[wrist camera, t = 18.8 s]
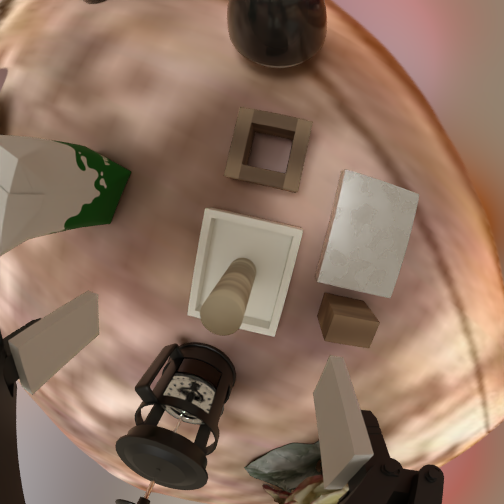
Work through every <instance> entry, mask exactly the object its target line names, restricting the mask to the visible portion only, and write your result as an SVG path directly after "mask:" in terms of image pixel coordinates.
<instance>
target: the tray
mask: <svg viewBox="0 0 504 504" xmlns="http://www.w3.org/2000/svg"><path fill="white" fill-rule="evenodd" d="M302 234H303V229H302V228H301V227H296V226H292V225H288V224H284V223H280V222H275V221H271V220H267V219H262V218H258V217H254V216H249V215H245V214H240V213H236V212H231V211H226V210H222V209H217V208H212V207H210V208H205V212H204V217H203V223H202V228H201V233H200V239H199V244H198V250H197V256H196V262H195V268H194V274H193V280H192V286H191V293H190V300H189V306H188V314H187V315H189V316H193V317H196V318H200V310H201V307H202V305H203V303H204V302H205V300H206V299H207V298H208V296H209V295H210V293H211V292H212V290H213V289H214V287H215V286H216V285H217V283H218V282H219V280H220V279H221V277H222V276H223V274H224V273H225V272H226V270H227V269H228V267H229V266H230V264H231V263H232V262H233V261H234V260H235V259H237V258H247V259H249V260H251V261H252V262H253V263H254V265H255V267H256V276H255V280H254V283H253V286H252V290H251V293H250V297H249V300H248V304H247V307H246V311H245V314H244V318H243V321H242V324H241V326H240V328H239V329H243V330H247V331H251V332H255V333H260V334H264V335H269V336H273V337H275V333H276V330H277V327H278V323H279V320H280V316H281V313H282V309H283V306H284V302H285V298H286V295H287V291H288V288H289V284H290V280H291V276H292V273H293V269H294V265H295V261H296V257H297V253H298V249H299V246H300V242H301V238H302ZM200 319H201V318H200Z"/></svg>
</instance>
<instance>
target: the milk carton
mask: <svg viewBox="0 0 504 504" xmlns="http://www.w3.org/2000/svg"><path fill="white" fill-rule="evenodd" d="M130 174H131V171H129V170H127V169H126V168H124V167H122V166H120V165H119V164H117V163H115V162H113V161H111V160H110V159H108V158H106V157H104V156H102V155H101V154H99V153H97V152H95V151H93V150H91V149H89V148H87V147H85V146H81V145H76V144H71V143H65V142H60V141H54V140H47V139H41V138H34V137H26V136H12V135H0V256H2V255H3V254H5V253H6V252H8V251H10V250H11V249H13V248H15V247H16V246H18V245H20V244H21V243H23V242H25V241H27V240H29V239H32V238H36V237H40V236H44V235H48V234H53V233H57V232H61V231H66V230H70V229H75V228H80V227H87V226H95V225H103V224H110V223H111V221H112V218H113V215H114V213H115V210H116V207H117V205H118V202H119V200H120V197H121V195H122V192H123V190H124V188H125V185H126V183H127V181H128V178H129V176H130Z"/></svg>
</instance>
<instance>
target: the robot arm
mask: <svg viewBox="0 0 504 504" xmlns="http://www.w3.org/2000/svg"><path fill="white" fill-rule="evenodd" d="M84 1H85V2H87V3H99V2H102V1H105V0H84ZM98 335H99V318H98V294H96V293H93V292H91V291H86V292H85V293H83V294H81V295H80V296H78V297H76V298H75V299H73V300H71V301H70V302H68V303H66V304H65V305H63V306H62V307H60V308H58V309H57V310H55V311H53V312H52V313H50V314H49V315H47V316H45V317H44V318H42V319H41V318H39V319H36V320H32V321H30V322H29V323H27V324H26V325H25V326H22V327H21V328H20V329H18V330H16V331H15V332H13V333H11V334H10V335H8V336H7V337H5V338H4V339H2V335H1V331H0V504H26V503H25V499H24V494H23V489H22V483H21V477H20V470H19V463H18V462H19V461H18V451H17V435H16V396H17V384H16V381H17V380H18V379H20V382H21V384H22V387H23V388H24V389H25V390H27V391H28V392H29V393H31V394H32V395H33V394H34V393H35V392H36V391H37V390H38V389H39V388H40V387H42V386H43V385H44V384H45V383H46V382H47V381H48V380H49V379H50V378H51V377H52V376H53V375H54V374H56V373H57V372H58V371H59V370H60V369H61V368H62V367H63V366H64V365H65V364H66V363H68V362H69V361H70V360H71V359H72V358H73V357H74V356H75V355H76V354H78V353H79V352H80V351H81V350H82V349H83V348H84V347H85V346H87V345H88V344H89V343H90V342H91V341H92V340H93V339H95V338H96V337H97V336H98ZM313 396H314V403H315V411H316V418H317V426H318V434H319V443H320V452H321V461H322V471H323V481H324V489H342V488H343V487H344V486H345V485H346V484H347V483H348V487H349V490H348V491H347V492H346V493H345V494H344V495H343V496H342V497H341V498H340V499H338V500H339V501H338V502H337V504H442V495H443V484H444V476H443V472H442V471H441V469H440V468H438V467H437V466H435V465H425V466H423V467H422V468H421V469H420V470H419V471H414V470H408V469H403V468H402V466H401V464H400V463H399V462H398V461H396V460H395V459H392V458H390V456H389V453H388V450H387V447H386V444H385V441H384V438H383V435H382V434H381V433H382V432H381V429H380V428H379V424H378V421H377V418H376V417H375V416H374V415H373V413H372V412H371V411H367V410H360V407H359V404H358V400H357V397H356V394H355V391H354V388H353V385H352V382H351V379H350V376H349V373H348V370H347V367H346V364H345V362H344V359H343V357H337V356H331V355H330V356H329V359H328V361H327V363H326V366H325V368H324V370H323V373H322V375H321V377H320V379H319V382H318V384H317V386H316V388H315V390H314V392H313Z"/></svg>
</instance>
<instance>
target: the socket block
mask: <svg viewBox="0 0 504 504" xmlns="http://www.w3.org/2000/svg"><path fill="white" fill-rule="evenodd" d="M312 123H313V122H312V121H308V120H304V119H300V118H296V117H291V116H287V115H282V114H277V113H272V112H267V111H261V110H256V109H250V108H244V107H240V109H239V113H238V117H237V121H236V125H235V129H234V134H233V138H232V142H231V146H230V151H229V155H228V159H227V164H226V168H225V173H224V176H225V177H228V178H231V179H236V180H241V181H245V182H250V183H255V184H260V185H264V186H269V187H273V188H277V189H282V190H286V191H290V192H294V193H296V192H298V188H299V184H300V179H301V175H302V170H303V166H304V161H305V156H306V152H307V147H308V142H309V138H310V133H311V128H312ZM255 132H258V133H263V134H268V135H273V136H278V137H283V138H287V139H291V140H293V143H292V147H291V152H290V157H289V161H288V166H287V170H286V174H285V173H280V172H276V171H271V170H267V169H262V168H257V167H252V166H247V164H248V159H249V155H250V150H251V146H252V142H253V137H254V133H255Z"/></svg>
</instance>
